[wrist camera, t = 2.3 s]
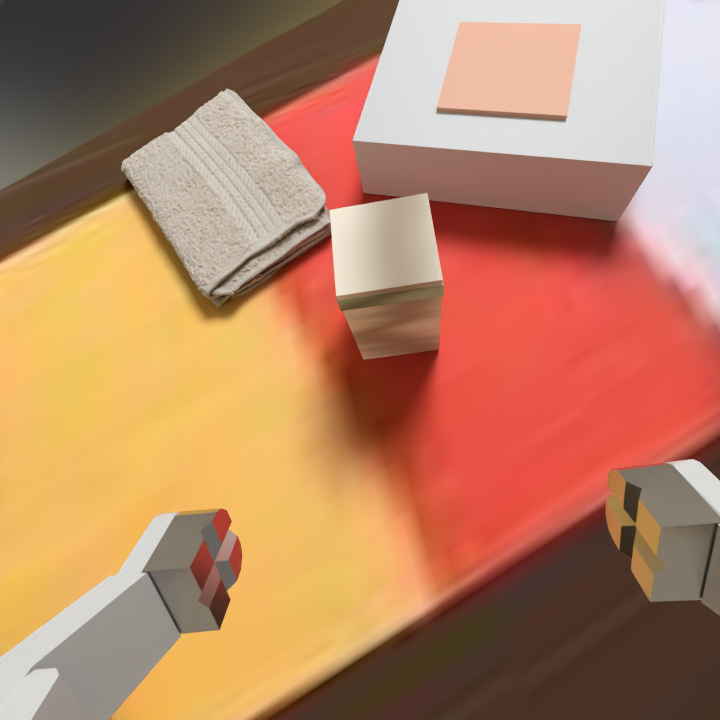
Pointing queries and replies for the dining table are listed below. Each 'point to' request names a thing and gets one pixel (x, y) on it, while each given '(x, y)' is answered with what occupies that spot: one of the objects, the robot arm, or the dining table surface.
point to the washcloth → (229, 197)
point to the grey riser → (515, 104)
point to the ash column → (388, 275)
